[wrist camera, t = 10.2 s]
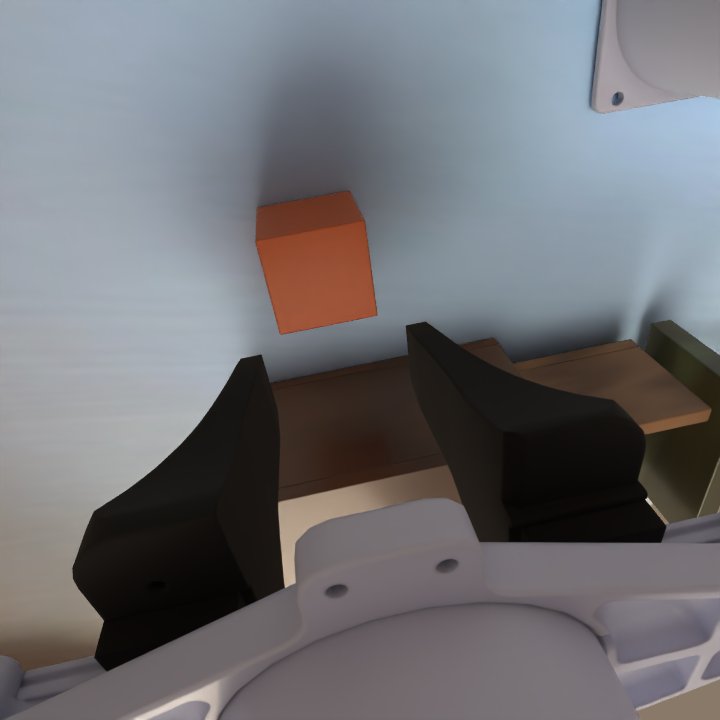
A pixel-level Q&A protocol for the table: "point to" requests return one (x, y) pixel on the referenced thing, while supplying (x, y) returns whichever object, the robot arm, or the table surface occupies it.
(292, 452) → the cabinet
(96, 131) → the table surface
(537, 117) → the table surface
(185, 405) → the table surface
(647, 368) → the drawer
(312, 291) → the block
